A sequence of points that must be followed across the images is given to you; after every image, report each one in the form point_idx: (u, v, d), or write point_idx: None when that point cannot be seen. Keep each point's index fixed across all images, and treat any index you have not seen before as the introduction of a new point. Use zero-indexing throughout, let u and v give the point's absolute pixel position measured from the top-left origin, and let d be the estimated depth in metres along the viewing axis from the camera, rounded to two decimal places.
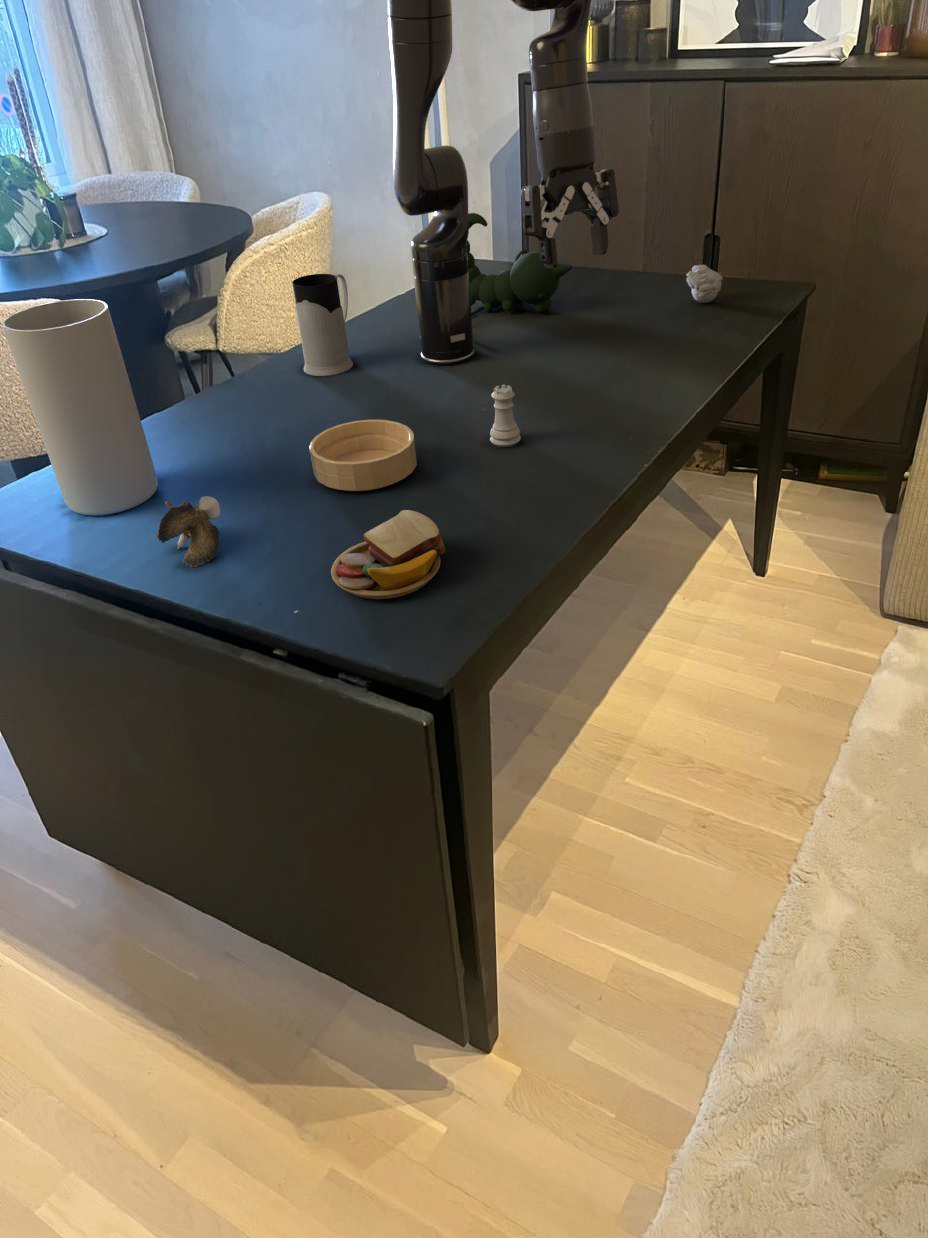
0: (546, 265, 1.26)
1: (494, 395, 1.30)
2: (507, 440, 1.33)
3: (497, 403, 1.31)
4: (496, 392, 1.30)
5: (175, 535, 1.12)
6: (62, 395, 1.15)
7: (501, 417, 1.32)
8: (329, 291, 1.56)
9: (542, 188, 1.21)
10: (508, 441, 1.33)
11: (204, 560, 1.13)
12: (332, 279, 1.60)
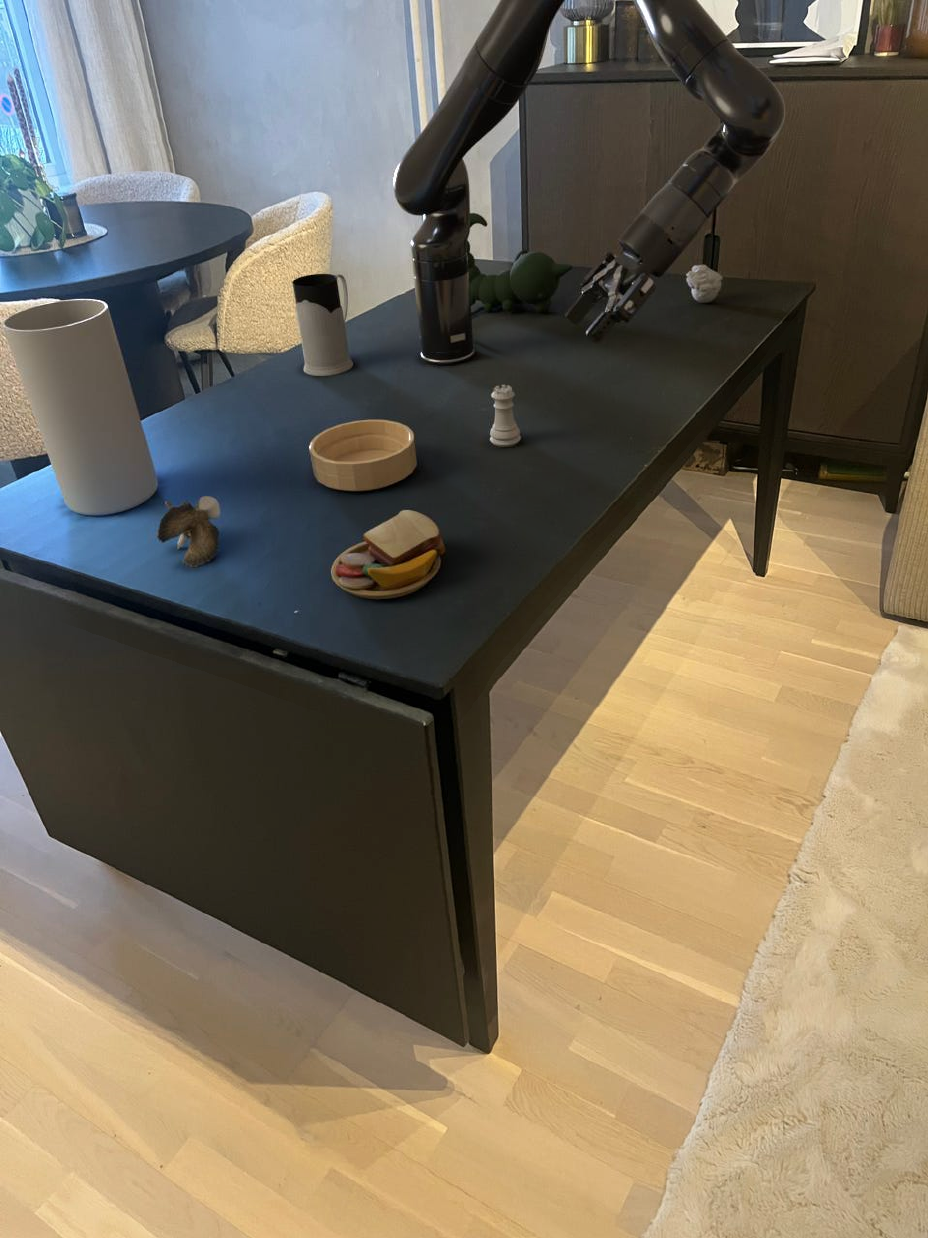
0: (590, 336, 1.24)
1: (494, 395, 1.30)
2: (507, 440, 1.33)
3: (497, 403, 1.31)
4: (496, 392, 1.30)
5: (175, 535, 1.12)
6: (62, 395, 1.15)
7: (501, 417, 1.32)
8: (329, 291, 1.56)
9: None
10: (508, 441, 1.33)
11: (204, 560, 1.13)
12: (332, 279, 1.60)
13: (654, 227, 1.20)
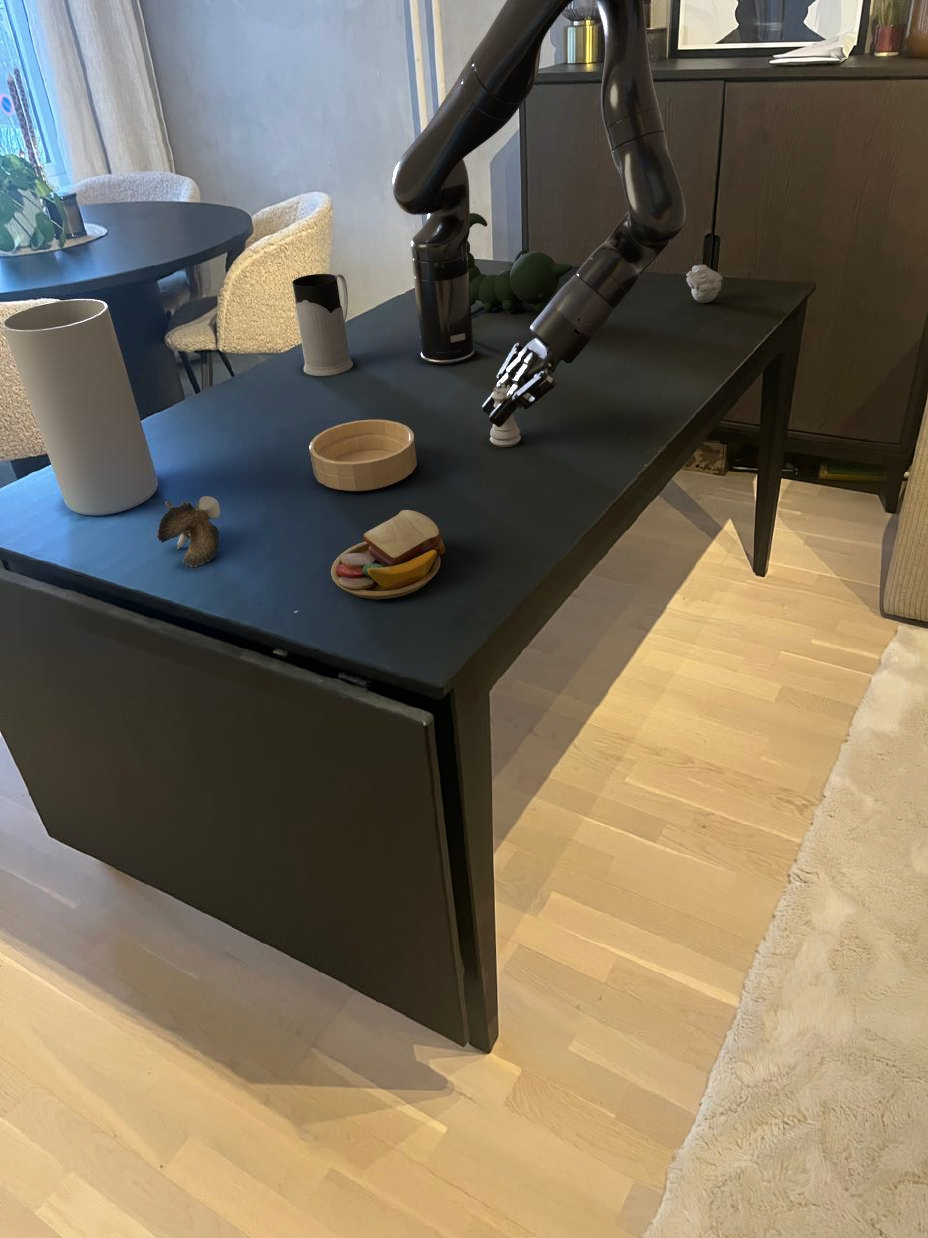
0: (493, 420, 1.30)
1: (494, 395, 1.30)
2: (507, 440, 1.33)
3: (497, 403, 1.31)
4: (496, 392, 1.30)
5: (175, 535, 1.12)
6: (62, 395, 1.15)
7: None
8: (329, 291, 1.56)
9: None
10: (508, 441, 1.33)
11: (204, 560, 1.13)
12: (332, 279, 1.60)
13: (561, 318, 1.24)
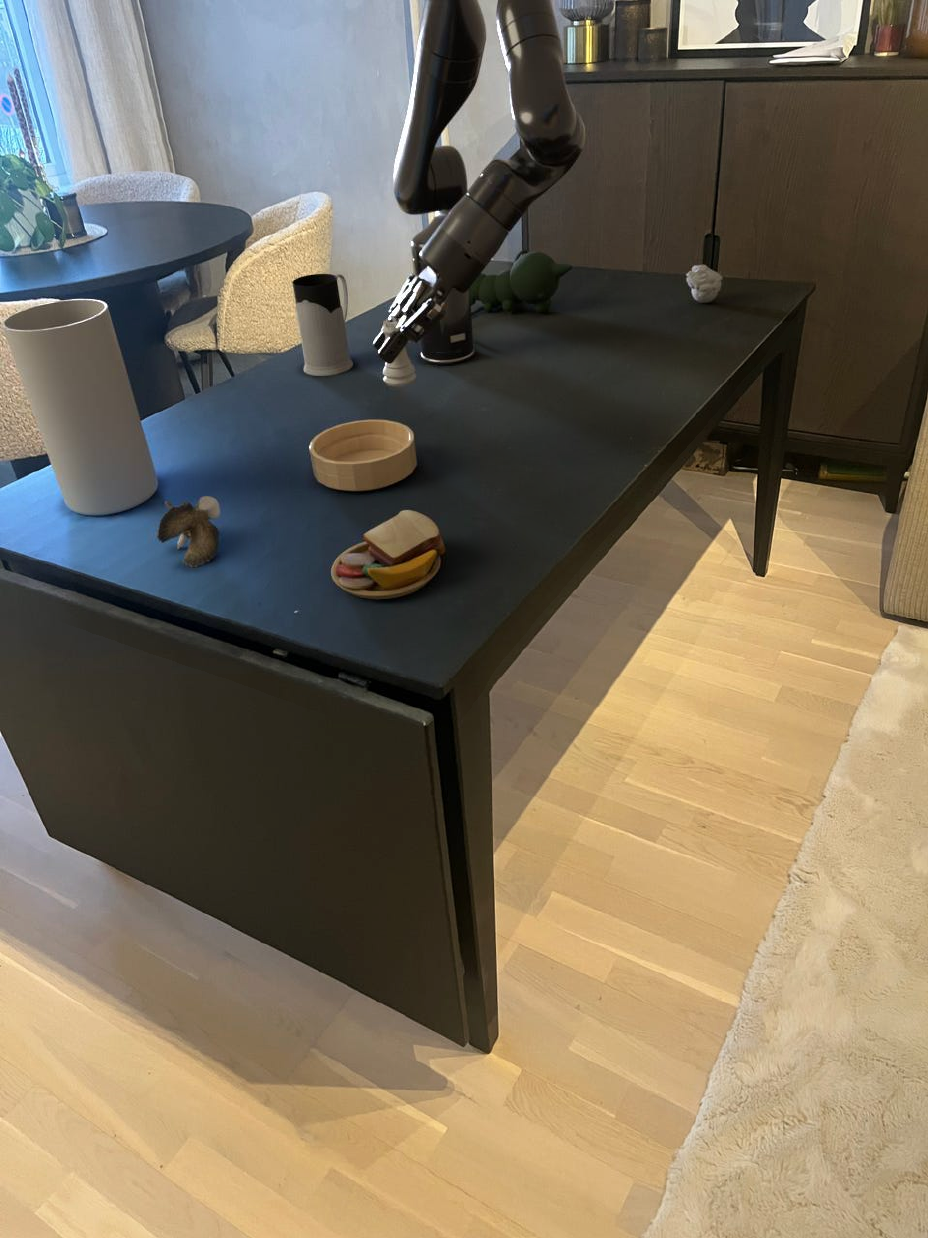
0: (382, 356, 1.20)
1: (383, 328, 1.20)
2: (400, 378, 1.23)
3: (387, 337, 1.21)
4: (385, 325, 1.20)
5: (175, 535, 1.12)
6: (62, 395, 1.15)
7: None
8: (329, 291, 1.56)
9: None
10: (401, 379, 1.23)
11: (204, 560, 1.13)
12: (332, 279, 1.60)
13: (450, 241, 1.14)
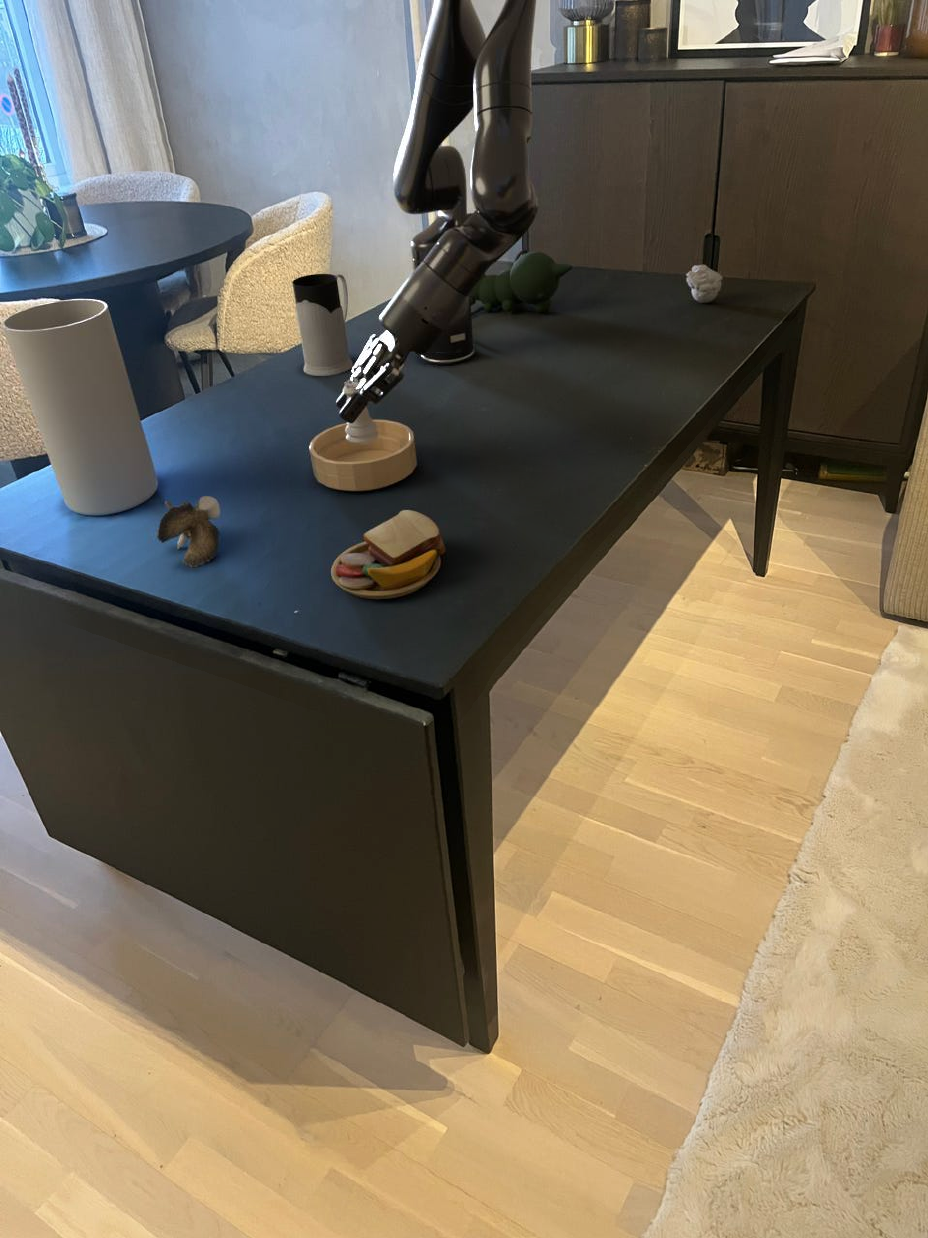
0: (343, 416, 1.23)
1: (345, 389, 1.23)
2: (362, 437, 1.26)
3: (348, 398, 1.24)
4: (346, 386, 1.23)
5: (175, 535, 1.12)
6: (62, 395, 1.15)
7: None
8: (329, 291, 1.56)
9: None
10: (363, 438, 1.26)
11: (204, 560, 1.13)
12: (332, 279, 1.60)
13: (407, 307, 1.17)
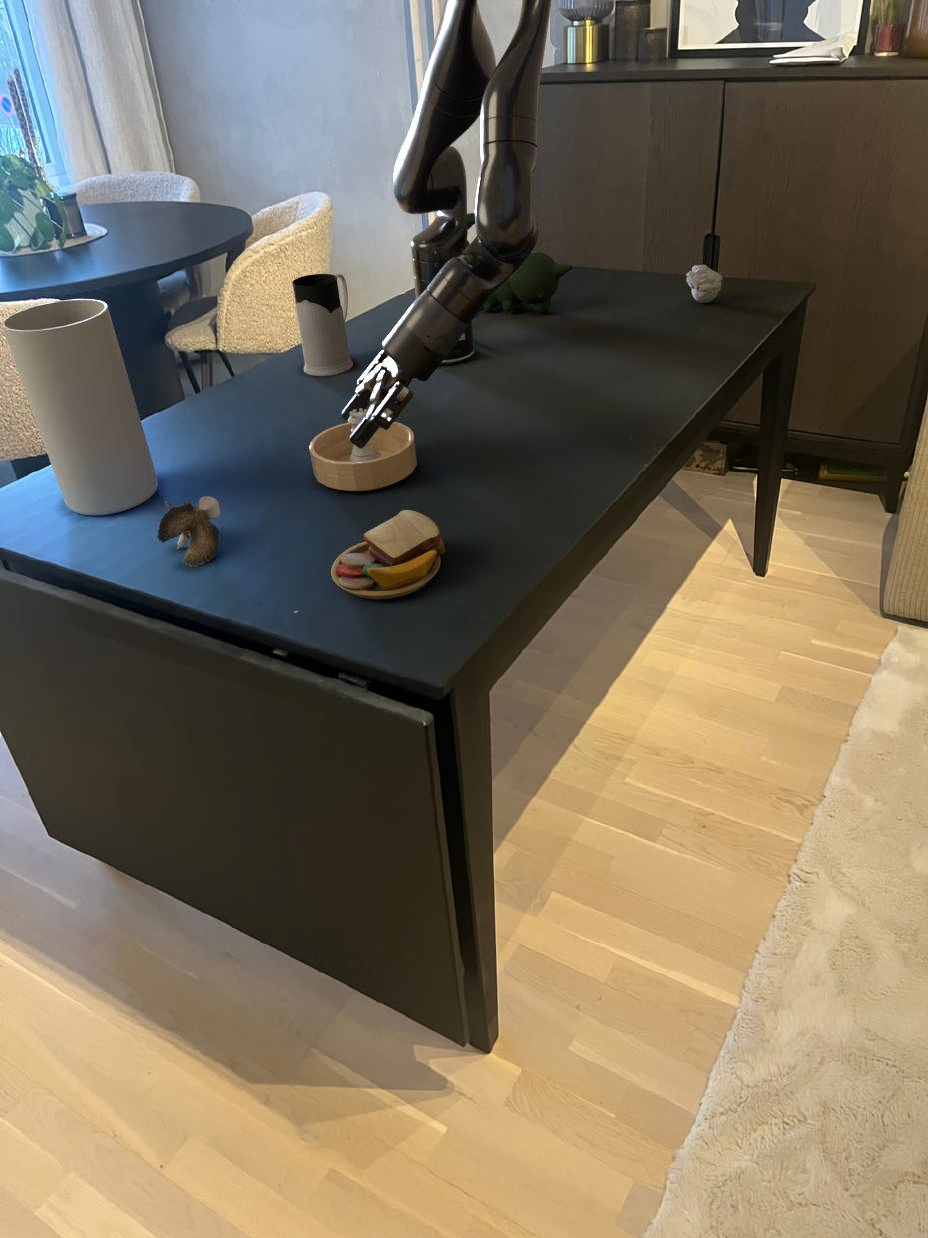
0: (353, 441, 1.23)
1: (350, 419, 1.25)
2: None
3: (353, 427, 1.26)
4: (351, 416, 1.25)
5: (175, 535, 1.12)
6: (62, 395, 1.15)
7: None
8: (329, 291, 1.56)
9: None
10: None
11: (204, 560, 1.13)
12: (332, 279, 1.60)
13: (410, 335, 1.19)
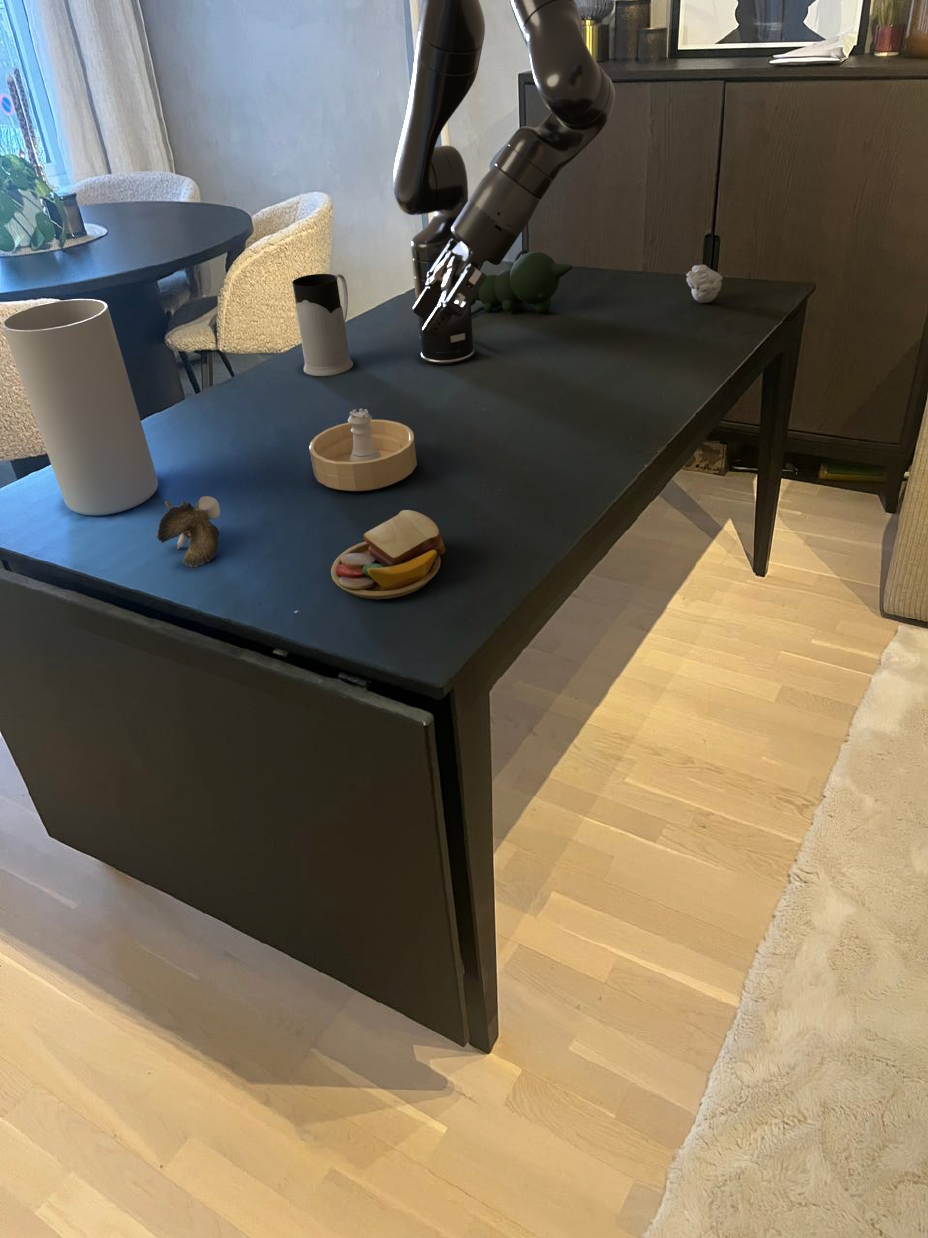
0: (426, 332, 1.19)
1: (350, 419, 1.25)
2: None
3: (353, 427, 1.26)
4: (351, 416, 1.25)
5: (175, 535, 1.12)
6: (62, 395, 1.15)
7: (359, 442, 1.27)
8: (329, 291, 1.56)
9: None
10: None
11: (204, 560, 1.13)
12: (332, 279, 1.60)
13: (480, 214, 1.14)
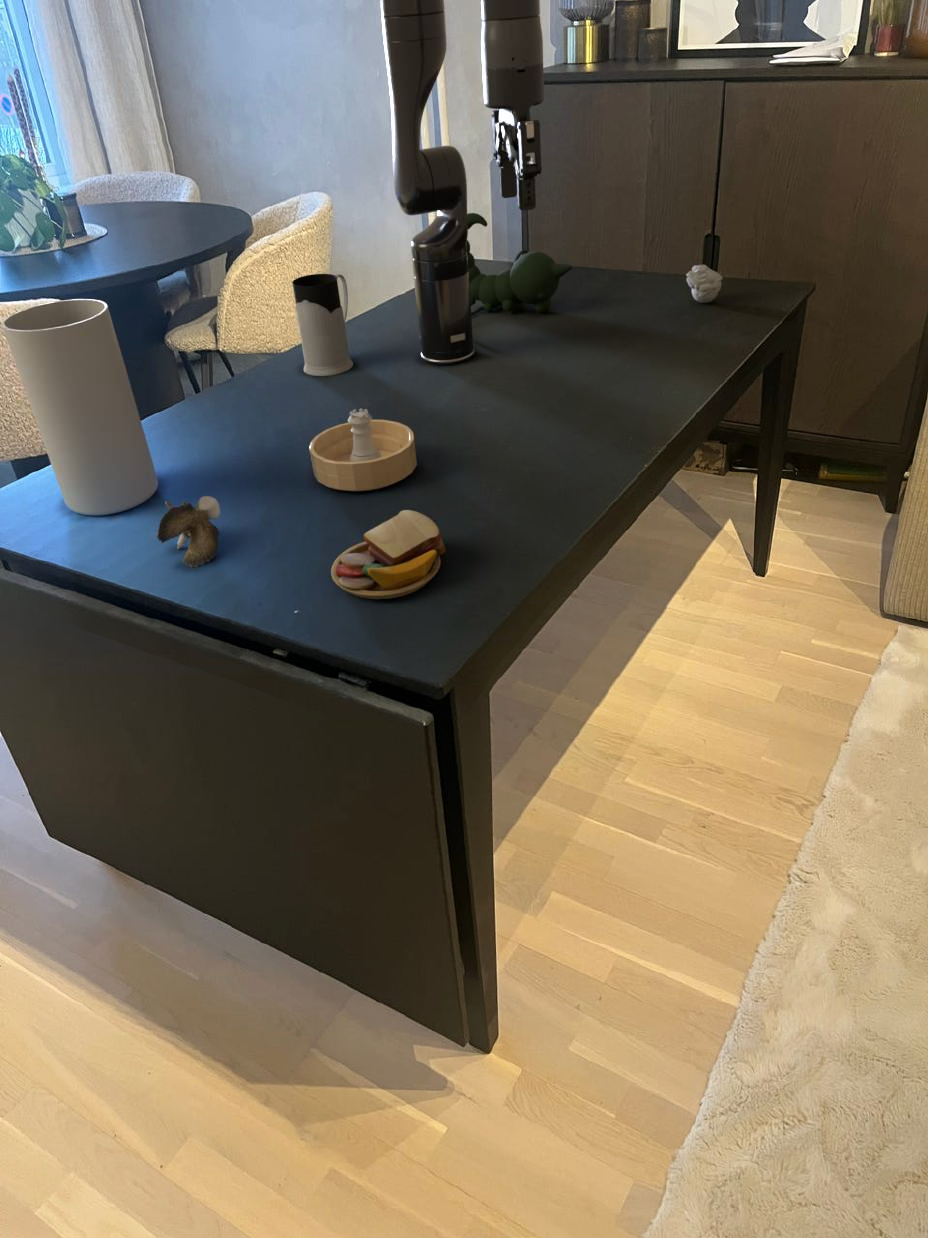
0: (524, 207, 1.21)
1: (350, 419, 1.25)
2: None
3: (353, 427, 1.26)
4: (351, 416, 1.25)
5: (175, 535, 1.12)
6: (62, 395, 1.15)
7: (359, 442, 1.27)
8: (329, 291, 1.56)
9: None
10: None
11: (204, 560, 1.13)
12: (332, 279, 1.60)
13: (498, 73, 1.13)
